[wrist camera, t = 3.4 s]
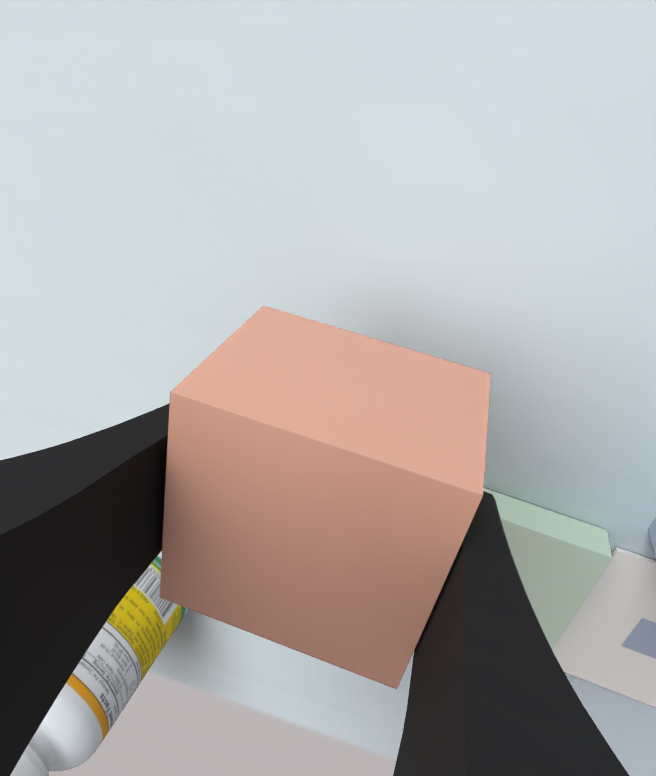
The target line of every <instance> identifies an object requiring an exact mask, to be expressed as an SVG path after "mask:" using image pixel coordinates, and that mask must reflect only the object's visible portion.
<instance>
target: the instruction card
mask: <svg viewBox="0 0 656 776" xmlns="http://www.w3.org/2000/svg"><path fill="white" fill-rule="evenodd" d="M611 555H612V559H611V560H610V562H609V563H608V565H607V566H606V568H605V569H604V571H603V572H602V574H601V575H600V577H599V578H598V580H597V581H596V583H595V585H594V586H593V588H592V589H591V591H590V592H589V594H588V595H587V597H586V598H585V600H584V601H583V603H582V604H581V606H580V607H579V609H578V610H577V612H576V613H575V615H574V616H573V618H572V619H571V621H570V622H569V624H568V625H567V627H566V628H565V630H564V631H563V633H562V634H561V636H560V638H559V639H558V641H557V642H556V644H555V645H554V647H553V648H552V651H553V653H554V655H555V656H556V658H557V660H558V662H559V664H560V666H561V668H562V669H563V671H564V672H566V673H568V674H571V675H573V676H576V677H579V678H581V679H584V680H586V681H589V682H591V683H594V684H597V685H599V686H602V687H604V688H607V689H610V690H612V691H615V692H617V693H620V694H622V695H625V696H628V697H630V698H633V699H635V700H638V701H641V702H643V703H646V704H648V705H651V706H653V707H656V561H655V560H652V559H649V558H646V557H643V556H640V555H638V554H635V553H632V552H629V551H626V550H623V549H620V548H617V547H616V548H615V550H614V551H613V553H612V554H611Z"/></svg>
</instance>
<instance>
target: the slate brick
mask: <svg viewBox="0 0 656 776" xmlns="http://www.w3.org/2000/svg"><path fill="white" fill-rule="evenodd" d="M648 531H649V535H650V538H651V542H652V546H653V550H654V553H655V557H656V518H655V520H654V521H653V523H652V524H651V526H650V527H649V528H648Z"/></svg>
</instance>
